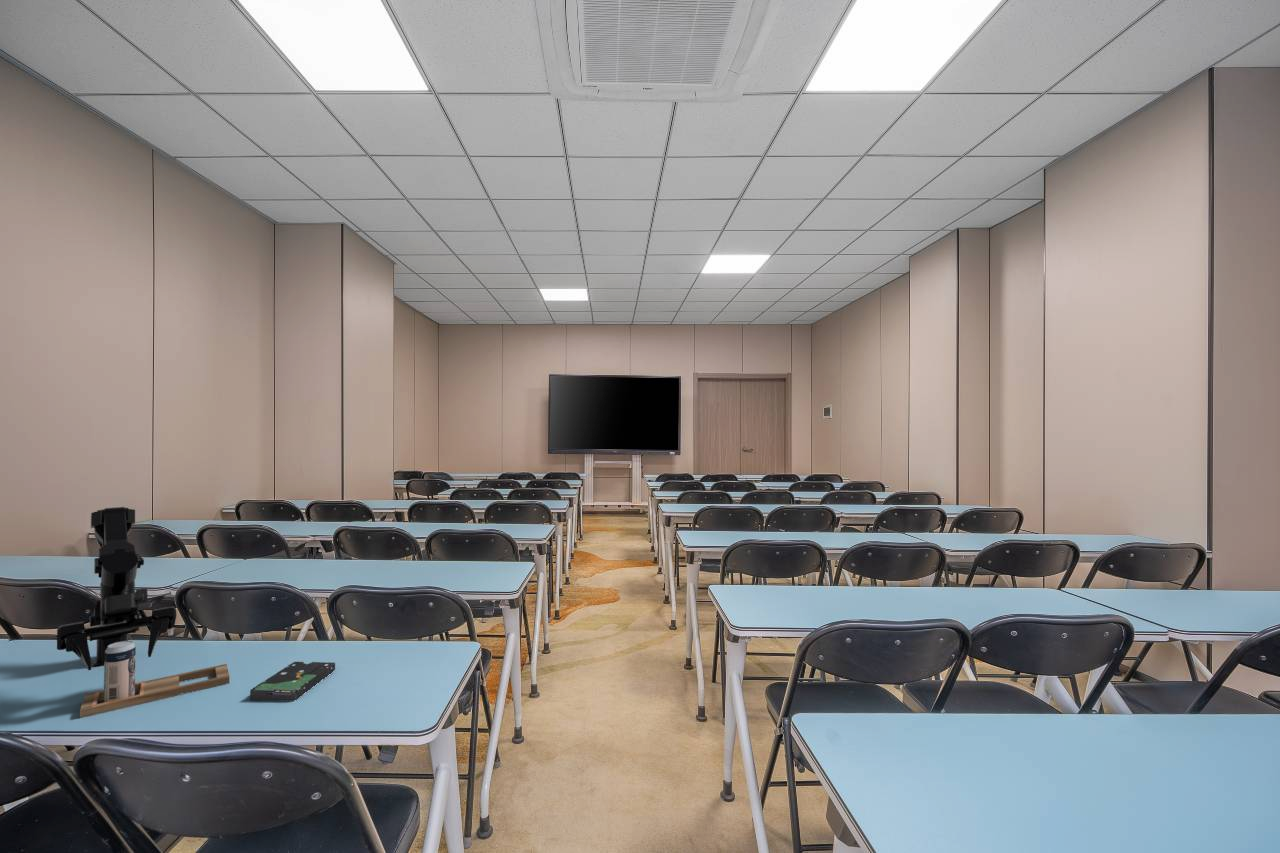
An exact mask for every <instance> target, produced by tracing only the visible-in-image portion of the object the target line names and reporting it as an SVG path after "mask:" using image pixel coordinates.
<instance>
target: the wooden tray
mask: <svg viewBox="0 0 1280 853" xmlns="http://www.w3.org/2000/svg"><path fill="white" fill-rule="evenodd" d="M214 675H216V676H215V677H213V678H209V679H205V680H201V681H196V682H191V683H187V684H183V685H180V683H181V681H183V682H186V681H185V680H187V681H191V680H190V679H192V680H195V679H196V680H197V679H201V678H205V677H209V676H214ZM226 683H228V684H230V673H229V669H228V664H227V663H224V664H220V665H219V664H218V665H215V666H210V667H205V668H201V669H195V670H191V671H187V672H182V673H177V674H172V675H169V676H164V677H159V678H155V679H149V680H141V681H137V682H135V693H137V692H139V694H136V695H134V696H131V697H126V698H122V699H117V700H113V701H108V702H104V701H103V702H100V701H101V700H104V689H99V690H95V691H93V692H89V693H85V694H84V698H83V700H82V703H81V706H80V710H79V719H82V718H85V717H91V716H95V715H99V714H103V713H108V712H112V711H116V710H121V709H125V708H129V707H133V706H138V705H142V704H146V703H151V702H155V701H159V700H164V699H167V698H172V697H175V696H174V695H177V696H179V695H178V694H181V693H185V694H187V693H186V692H190V693H193V692H192V691H194V692H197V691H196V690H198V691H202V690H201V689H203V690H205V689H206V688H207V689H211V688H214V686H215V687H218V686H217V685H220V686H222V684H224V685H227V684H226ZM210 687H211V688H210ZM181 695H182V694H181ZM99 702H100V703H99Z"/></svg>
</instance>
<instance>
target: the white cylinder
mask: <svg viewBox="0 0 1280 853" xmlns="http://www.w3.org/2000/svg"><path fill="white" fill-rule="evenodd" d="M136 647H137V646H136V644H135V643H134V641H133V640H128V641H122V642H116V643H113V644H110V645H109V646H108V647H107V649H106V650H105V659H104V664H103V665H104V669H103V672H104V673H103V690H104V699H103V703H104V702H108V701H113V700H117V699H122V698H126V697H131V696H135V694H136V692H135V683H136V651H137V650H136V649H137V648H136Z"/></svg>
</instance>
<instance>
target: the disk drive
mask: <svg viewBox="0 0 1280 853" xmlns="http://www.w3.org/2000/svg"><path fill="white" fill-rule="evenodd" d="M334 670H335V671H336V662H329V661H328V662H326V661H325V662H323V661H312V662H309V663H304V661H293V662H292V663H290V664H288V665H287V666H285V667H284V668H282V669H280V670H279V671H278V672H276V673H275V674H273V675H271V676H270V677H268V678H267V679H265V680H263V681H261V682H260V683H259V684H257V685H255V686H254V687H252V688H251V689H250V690H249V700H250V701H275V700H296V701H297V699H298V698H299V697H300V696H302V695H303V694H304V693H305V692H307V691H308V690H310V689H311V688H312V687H313V686H315V685H316V684H317V683H319V682H320V681H321V680H322V679H324V678H325V677H327V676H328V675H329V674H331V673H332V672H333V671H334ZM332 674H333V673H332ZM332 674H331V675H332ZM328 677H329V676H328ZM328 677H327V678H328ZM324 680H325V679H324ZM320 683H321V682H320ZM320 683H319V684H320ZM316 686H317V685H316ZM316 686H315V687H316ZM312 689H313V688H312ZM312 689H311V690H312ZM311 690H310V691H311ZM308 692H309V691H308ZM308 692H307V693H308ZM303 696H304V695H303ZM303 696H302V697H303ZM300 698H301V697H300ZM300 698H299V699H300ZM299 699H298V700H299Z"/></svg>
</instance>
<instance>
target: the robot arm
mask: <svg viewBox="0 0 1280 853" xmlns="http://www.w3.org/2000/svg"><path fill="white" fill-rule="evenodd" d="M135 524H136V509H132V508H131V509H130V508H129V507H125V506H119V507H105V508H103V509H97V511H93V512H91V513H90V529H94V530H93V531H94V538H96V540H98V542H100V544H102V546H101V547H99V549H98V557H95V558H94V561H93V562H94V565H93V566H94V567H93V569H94V570H93V573H94V574H97V577H98V578H100V581H101V582H100V584H99V585H100V587H99V588H100V589H99V590H100V593H99V594H100V598H99V599H98V601H97V602H96V604H95V606H94V608H93V615H90V616H89V626H87V627H86V626H85V621H84V620H83V621H80V622H79V621H77V622H72V623H67V624H61V625H60V626H58V628H57V629H56V631H57V632H56V650H59V651H62V650H63V651H64V650H65V652H66V653H71V652H72V653H74V654H75V655H76V656H77V658H79V659H80V661H82V663H83V665H84V666H85V667H86V668H85V669H87V670H88V671H92V666H93V667H96V666H102V665H104V659H105V650H106V649H107V647H108V646H109V645H110V644H113V643H116V642H122V641H129V634H136V633H137V632H138V631H140V628H144V627H148V626H150V630H149V631H150V632H149V639H148V648H147V658H151V657H152V654H153V652H154V649H155V647H156V643H157V641H158V640H159V639H160V637H161V636H162V635H163V634H165V633H167V632H168V630H171V629H173V628H175V624H176V621H177V620H176V618H177V609H176V608H175V606H173V605H171V606H166V607H161V608H153V609H152V613H151V615H149V616H144V617H141V616H140V615H141V614H140V612H139V606H143V605H147V604H148V600H149V598H148V588H146V587H145V588H140V589H139V588H138V589H136V583H135V582H136V578H137V571H138V570H137V569H141V566H144V564H145V561H144V560H145V559H144V558H143V557H142V556H141V555H140V553H136V552H137V551H136V545H134V544H133V543H131V542H129V541H128V536H129V535H130V534H131V529H132V526H135ZM88 638H89V639H88ZM88 640H89V642H93V641H96V656H95V657H94V659H93V663H92V658H91V653H90V648H89V642H88Z"/></svg>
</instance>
